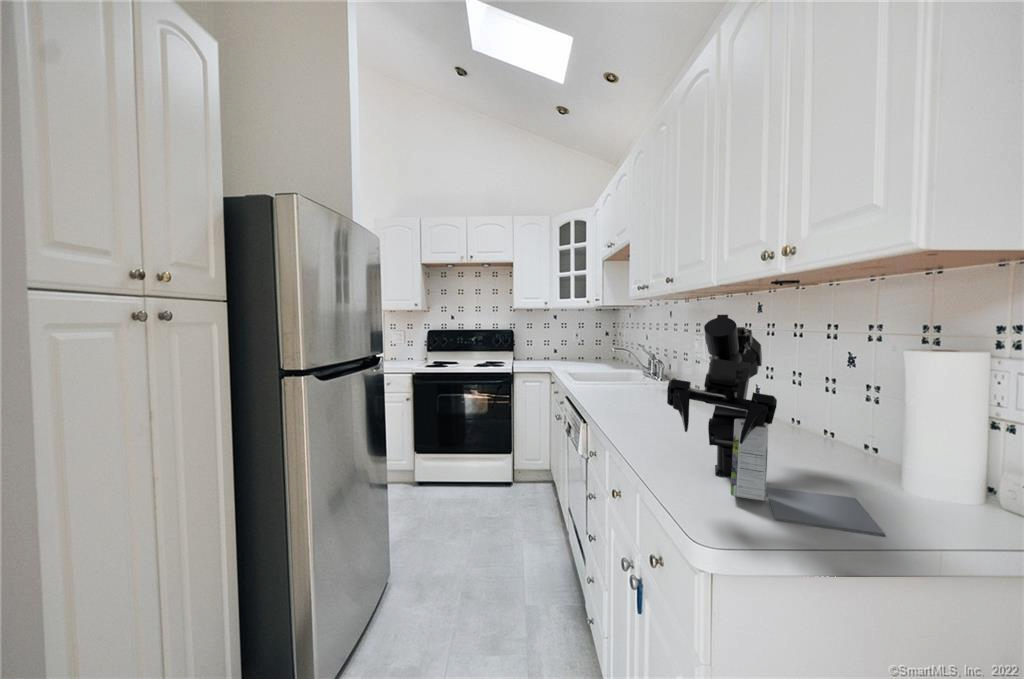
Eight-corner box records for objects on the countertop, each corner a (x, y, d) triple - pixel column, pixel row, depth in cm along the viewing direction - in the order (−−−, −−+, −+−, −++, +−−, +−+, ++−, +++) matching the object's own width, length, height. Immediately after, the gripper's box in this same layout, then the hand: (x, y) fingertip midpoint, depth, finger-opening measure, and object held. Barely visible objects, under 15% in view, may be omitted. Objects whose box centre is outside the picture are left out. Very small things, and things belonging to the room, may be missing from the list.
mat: (765, 488, 92) (765, 486, 92) (855, 499, 86) (855, 497, 86) (775, 520, 77) (775, 517, 77) (885, 536, 71) (885, 533, 71)
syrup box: (732, 493, 89) (735, 419, 92) (767, 499, 86) (768, 422, 89) (730, 495, 85) (732, 417, 87) (766, 501, 82) (768, 420, 84)
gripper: (676, 338, 90) (659, 398, 81) (784, 352, 82) (779, 421, 72) (674, 375, 97) (659, 434, 88) (773, 391, 89) (768, 458, 80)
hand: (712, 436), depth 82 cm, fingers open, 9 cm apart
